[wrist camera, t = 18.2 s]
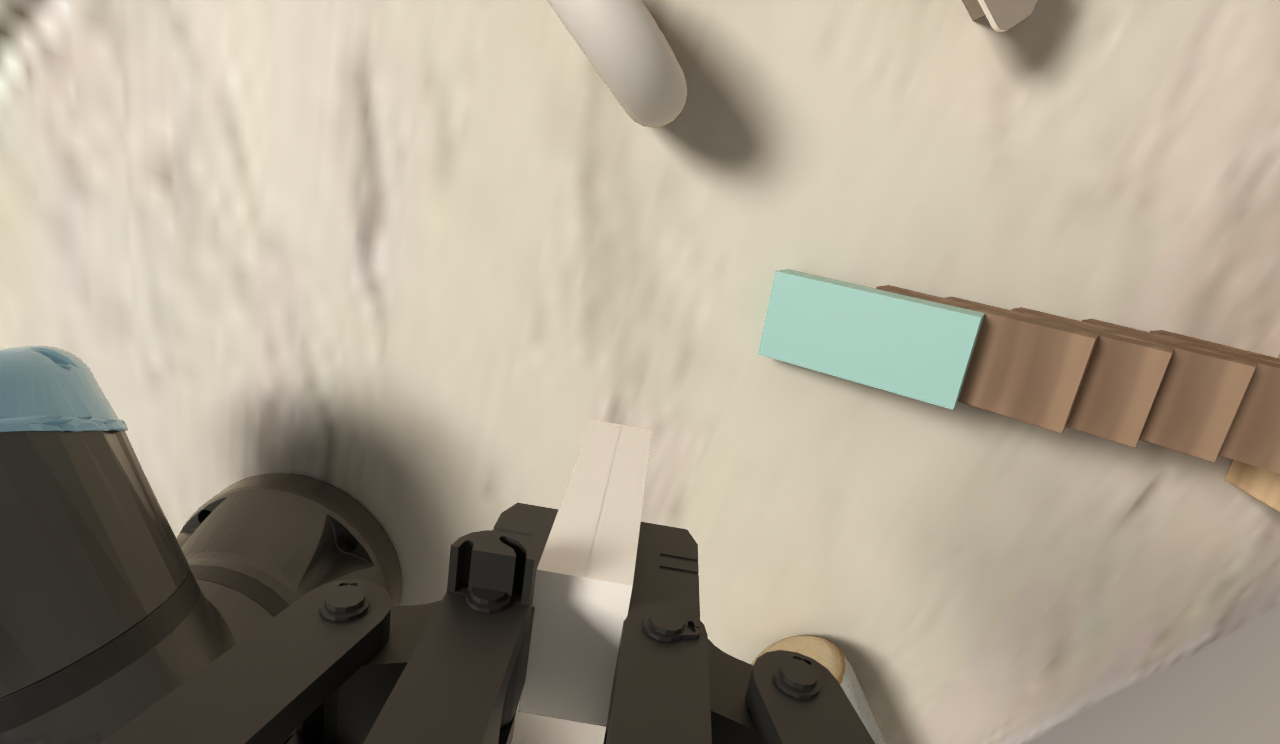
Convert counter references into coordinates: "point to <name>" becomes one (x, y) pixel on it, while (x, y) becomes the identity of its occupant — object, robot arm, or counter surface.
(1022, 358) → the domino
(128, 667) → the robot arm
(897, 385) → the tile
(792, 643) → the ceramic mug
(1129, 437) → the domino
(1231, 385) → the domino
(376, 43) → the counter surface
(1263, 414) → the domino
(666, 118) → the donut
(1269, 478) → the end block
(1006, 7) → the platform
